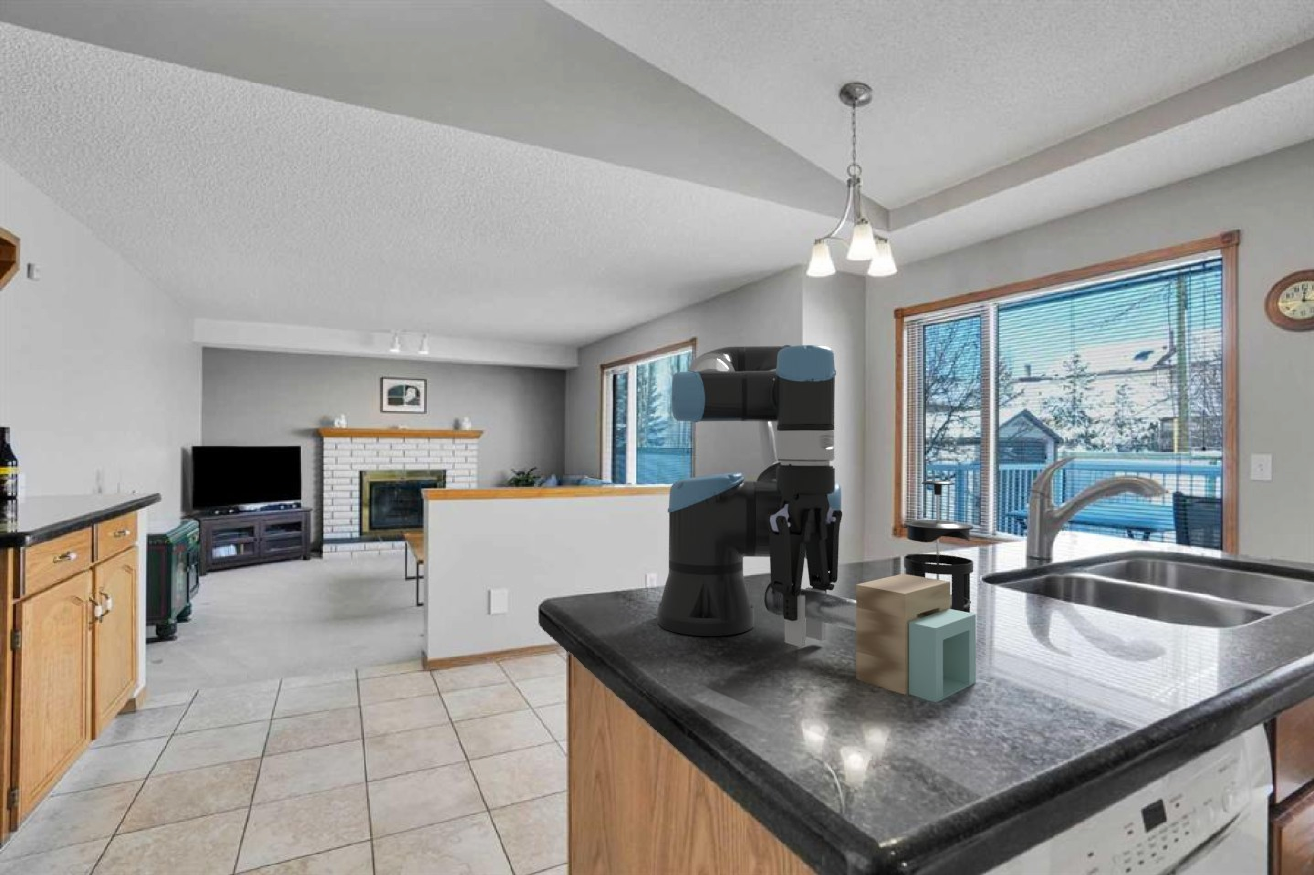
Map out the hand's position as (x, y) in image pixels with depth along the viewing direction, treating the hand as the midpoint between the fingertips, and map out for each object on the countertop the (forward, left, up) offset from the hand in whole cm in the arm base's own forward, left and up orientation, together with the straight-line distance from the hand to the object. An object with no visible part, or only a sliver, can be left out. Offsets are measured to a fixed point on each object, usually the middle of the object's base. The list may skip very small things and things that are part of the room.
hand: (805, 640), depth 86 cm
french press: (+8, +19, -2) cm, 21 cm away
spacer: (+19, 0, -2) cm, 19 cm away
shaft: (+6, 0, +3) cm, 6 cm away
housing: (+14, 0, -2) cm, 14 cm away
